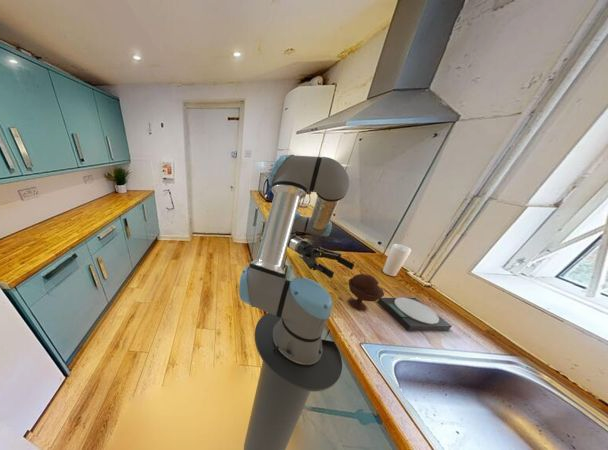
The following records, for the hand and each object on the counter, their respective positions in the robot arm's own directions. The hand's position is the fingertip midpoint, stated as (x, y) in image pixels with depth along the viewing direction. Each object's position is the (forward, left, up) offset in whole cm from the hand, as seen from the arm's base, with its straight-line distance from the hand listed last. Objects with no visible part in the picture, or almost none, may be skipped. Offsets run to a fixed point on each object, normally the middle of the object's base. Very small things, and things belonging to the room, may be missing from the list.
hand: (343, 271), depth 82 cm
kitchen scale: (+21, -13, -10) cm, 27 cm away
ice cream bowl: (+4, -8, -11) cm, 14 cm away
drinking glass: (+35, +12, -11) cm, 38 cm away
